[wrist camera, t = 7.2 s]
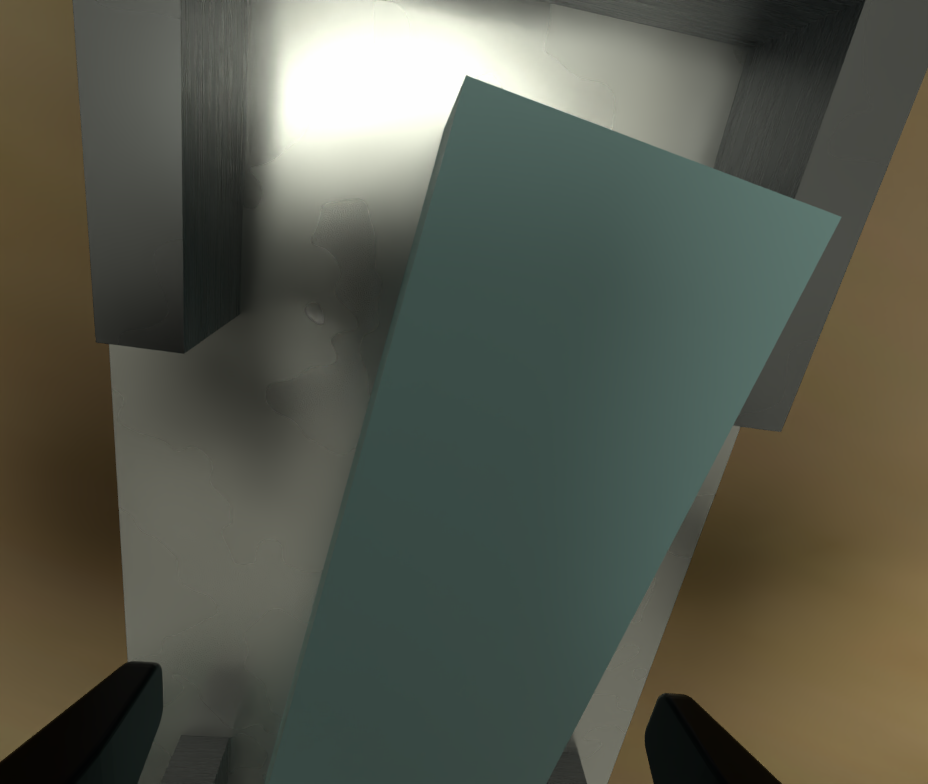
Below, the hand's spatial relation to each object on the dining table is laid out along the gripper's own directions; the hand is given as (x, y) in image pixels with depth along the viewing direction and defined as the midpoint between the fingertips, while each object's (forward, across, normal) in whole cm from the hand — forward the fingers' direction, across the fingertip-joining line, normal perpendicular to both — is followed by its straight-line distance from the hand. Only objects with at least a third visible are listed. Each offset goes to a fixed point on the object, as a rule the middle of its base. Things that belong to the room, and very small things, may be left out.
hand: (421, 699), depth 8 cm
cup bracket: (+4, 0, 0) cm, 4 cm away
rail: (+3, 0, 0) cm, 3 cm away
